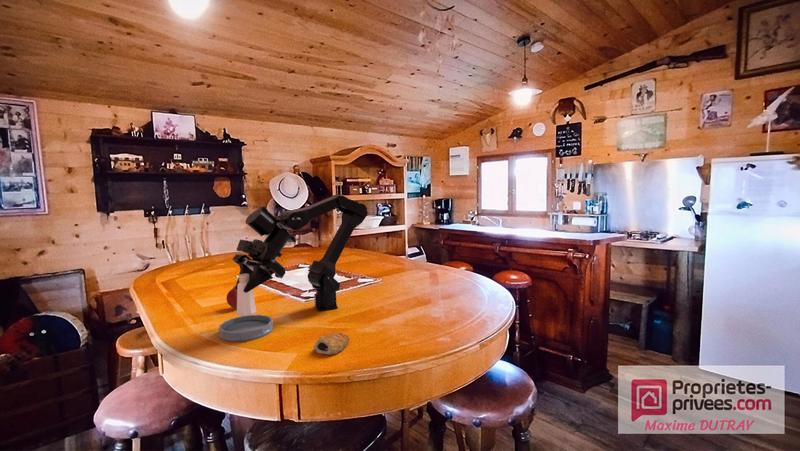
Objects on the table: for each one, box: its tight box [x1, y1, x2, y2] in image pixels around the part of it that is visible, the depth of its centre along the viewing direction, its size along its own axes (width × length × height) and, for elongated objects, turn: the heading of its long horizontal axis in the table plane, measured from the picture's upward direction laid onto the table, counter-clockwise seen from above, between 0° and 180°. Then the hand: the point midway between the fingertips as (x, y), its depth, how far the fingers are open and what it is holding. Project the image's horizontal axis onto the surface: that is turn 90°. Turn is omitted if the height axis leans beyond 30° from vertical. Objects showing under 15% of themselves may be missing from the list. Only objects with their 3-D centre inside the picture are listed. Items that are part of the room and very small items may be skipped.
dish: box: [218, 314, 274, 343], centre depth 105 cm, size 14×14×2 cm
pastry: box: [313, 332, 350, 356], centre depth 94 cm, size 9×7×4 cm
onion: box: [225, 284, 237, 310], centre depth 126 cm, size 6×6×8 cm
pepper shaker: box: [236, 273, 257, 317], centre depth 104 cm, size 5×5×11 cm
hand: (240, 290), depth 103 cm, fingers closed on pepper shaker, 4 cm apart
